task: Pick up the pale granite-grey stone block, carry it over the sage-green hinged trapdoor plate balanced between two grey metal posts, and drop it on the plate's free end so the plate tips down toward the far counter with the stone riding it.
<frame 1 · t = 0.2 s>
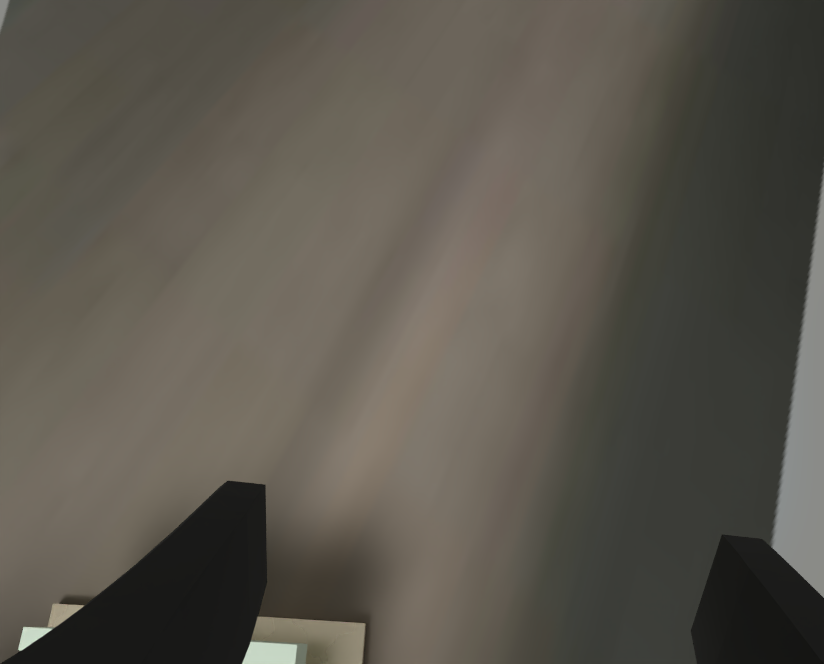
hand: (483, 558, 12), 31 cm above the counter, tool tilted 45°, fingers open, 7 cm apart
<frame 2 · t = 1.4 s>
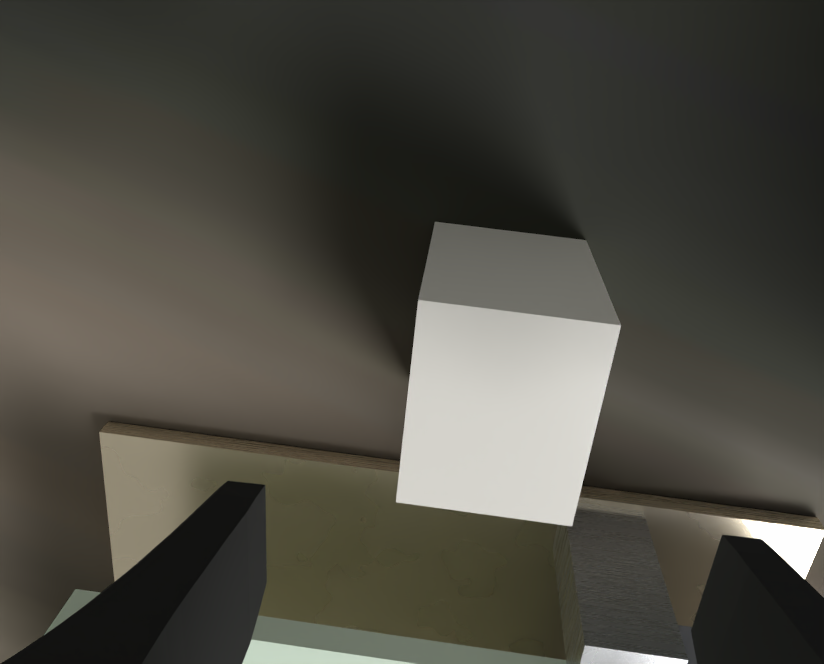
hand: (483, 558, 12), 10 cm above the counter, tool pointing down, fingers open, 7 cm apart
stone: (496, 316, 20), on the counter
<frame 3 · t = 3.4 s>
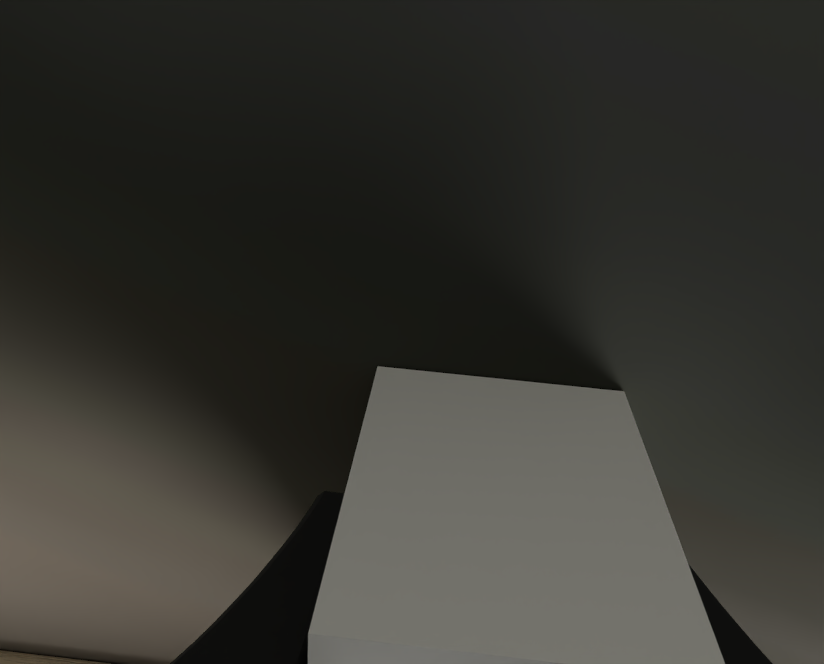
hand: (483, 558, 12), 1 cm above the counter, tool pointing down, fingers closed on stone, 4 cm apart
stone: (482, 502, 13), on the counter, touching gripper
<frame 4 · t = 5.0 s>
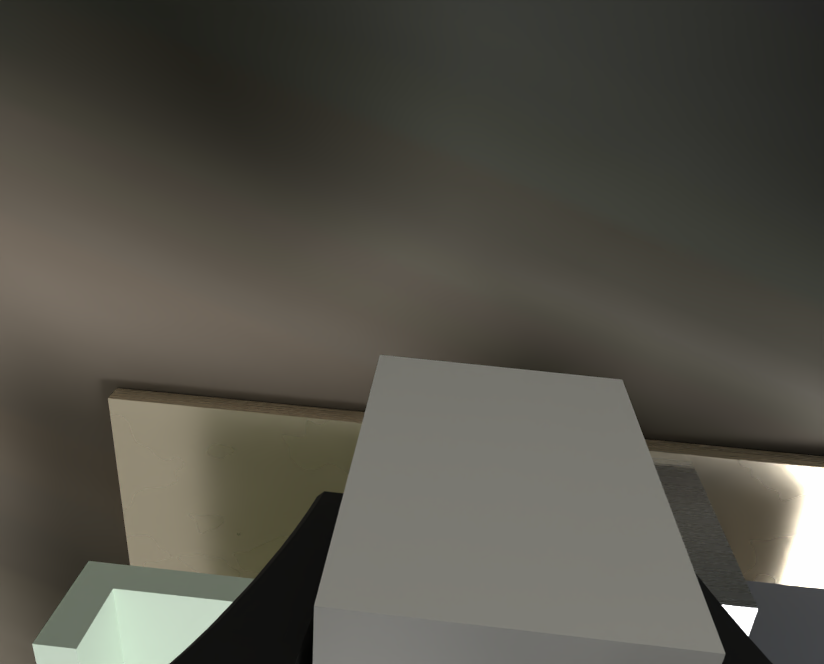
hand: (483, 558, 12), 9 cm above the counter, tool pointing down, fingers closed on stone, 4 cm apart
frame: (593, 658, 25), on the counter
stone: (482, 489, 13), point 7 cm above the counter, touching gripper
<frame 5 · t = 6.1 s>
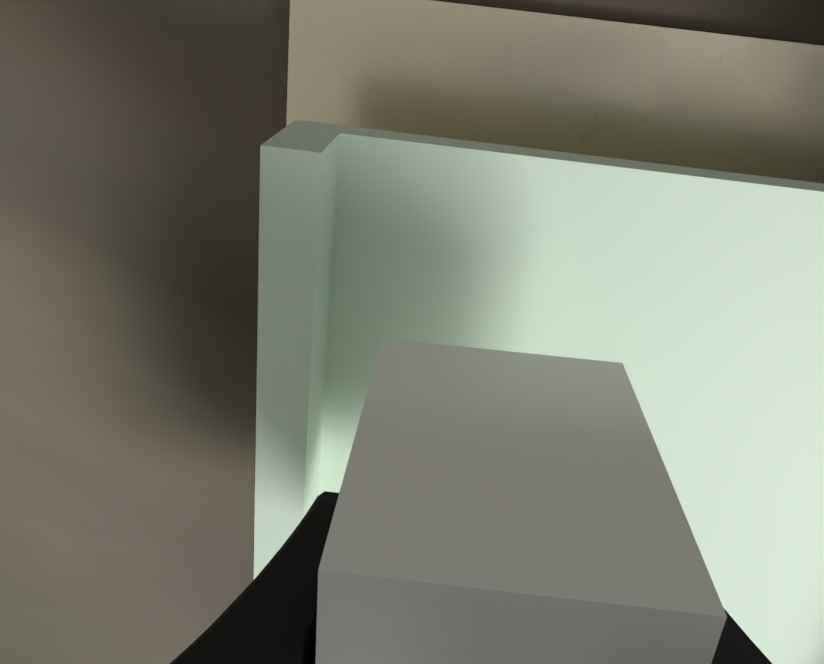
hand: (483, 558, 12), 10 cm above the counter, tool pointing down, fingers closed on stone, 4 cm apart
stone: (483, 474, 13), point 8 cm above the counter, touching gripper
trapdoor: (737, 475, 16), point 5 cm above the counter, hinge at 0.0°
when the fingers open (10 cm above the counter, at t = 6.6 s): stone drops 4 cm, resting on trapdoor.
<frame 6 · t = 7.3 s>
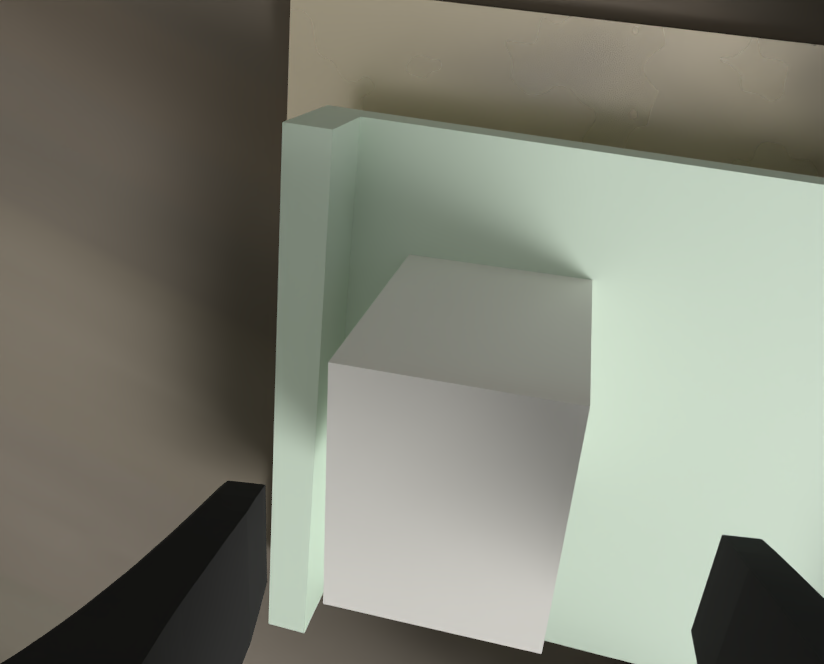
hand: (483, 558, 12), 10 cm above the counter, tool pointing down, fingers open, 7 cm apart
stone: (486, 368, 17), point 4 cm above the counter, tilted 9°, touching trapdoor
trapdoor: (730, 459, 17), point 4 cm above the counter, hinge at -8.6°, touching stone
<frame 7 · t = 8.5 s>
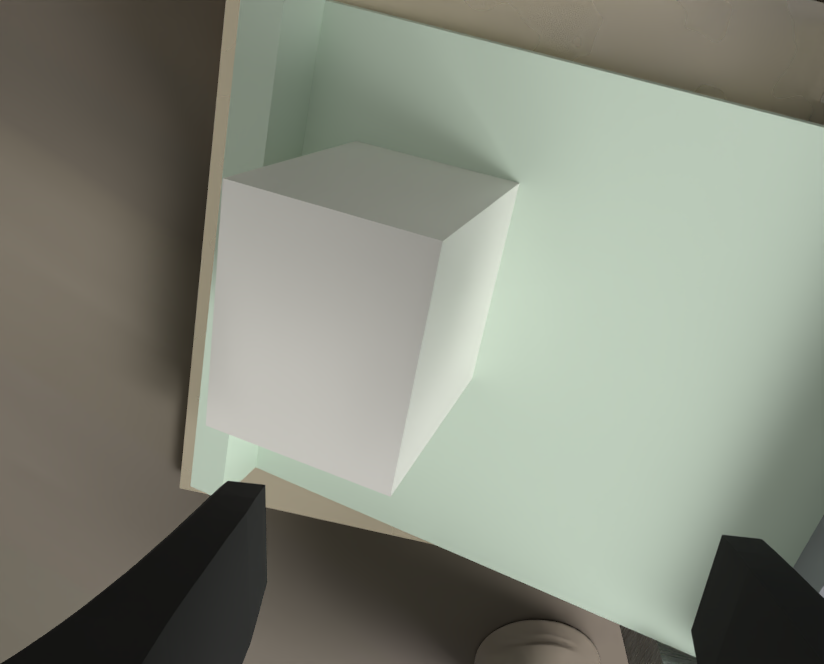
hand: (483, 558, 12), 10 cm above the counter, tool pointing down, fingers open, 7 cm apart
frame: (744, 350, 21), on the counter
stone: (416, 263, 18), point 3 cm above the counter, tilted 16°, touching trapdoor
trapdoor: (638, 385, 17), point 4 cm above the counter, hinge at -16.2°, touching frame, stone
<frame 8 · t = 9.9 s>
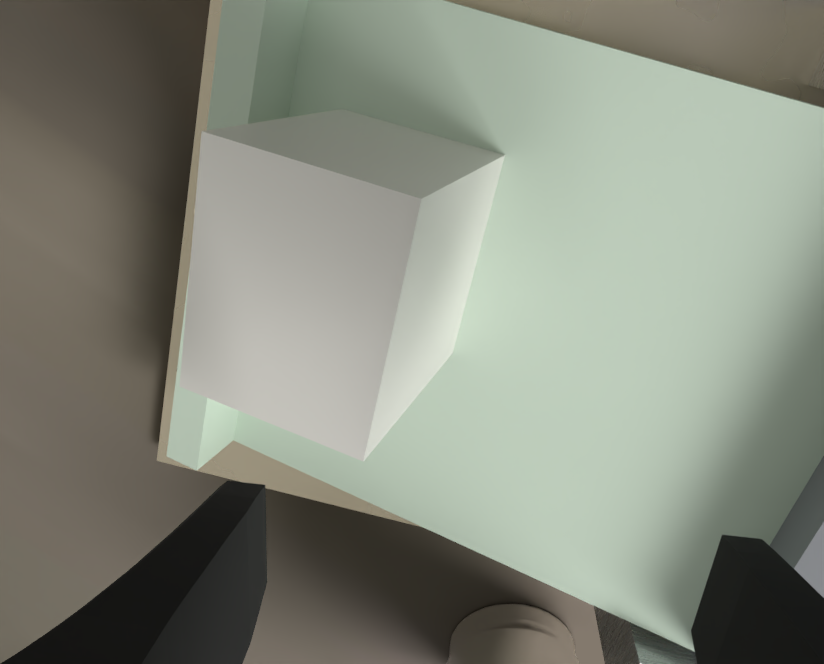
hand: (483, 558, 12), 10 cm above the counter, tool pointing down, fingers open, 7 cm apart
cup with straw: (511, 650, 27), on the counter
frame: (726, 336, 21), on the counter
stone: (399, 235, 18), point 3 cm above the counter, tilted 16°, touching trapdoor
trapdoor: (618, 363, 17), point 4 cm above the counter, hinge at -16.2°, touching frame, stone
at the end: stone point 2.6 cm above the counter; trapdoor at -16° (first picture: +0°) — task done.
